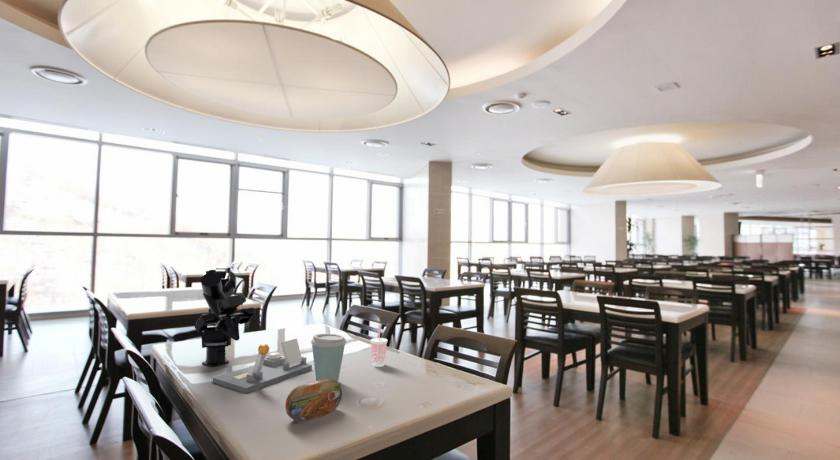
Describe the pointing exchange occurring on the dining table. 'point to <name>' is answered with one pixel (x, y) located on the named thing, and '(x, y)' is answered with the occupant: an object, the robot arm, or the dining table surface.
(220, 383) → the switch panel
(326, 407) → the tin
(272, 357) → the cream push button
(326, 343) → the disposable coffee cup
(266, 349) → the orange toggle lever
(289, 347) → the grey paddle
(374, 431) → the dining table surface
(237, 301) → the robot arm
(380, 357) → the beverage cup
